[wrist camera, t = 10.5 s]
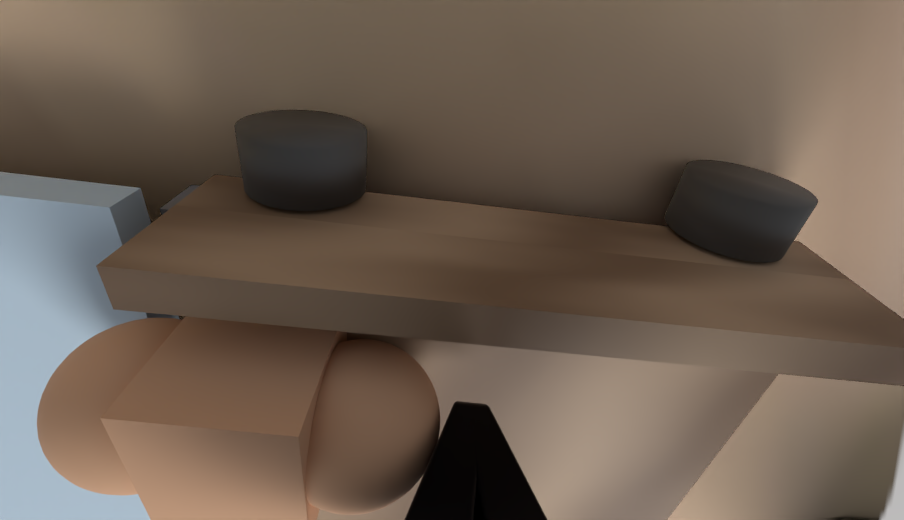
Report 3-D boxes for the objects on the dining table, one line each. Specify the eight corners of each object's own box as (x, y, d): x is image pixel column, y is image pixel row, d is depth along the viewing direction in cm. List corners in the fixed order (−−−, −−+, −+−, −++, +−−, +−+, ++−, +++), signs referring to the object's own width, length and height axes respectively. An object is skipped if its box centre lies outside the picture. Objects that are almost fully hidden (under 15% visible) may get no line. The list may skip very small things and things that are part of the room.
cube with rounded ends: (452, 314, 9) (447, 454, 6) (435, 414, 11) (426, 557, 8) (98, 274, 9) (-67, 405, 6) (141, 385, 10) (29, 524, 8)
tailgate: (109, 207, 8) (-336, 157, 7) (229, 554, 15) (7, 537, 15) (147, 184, 9) (-247, 138, 8) (242, 521, 16) (34, 505, 16)
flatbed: (801, 171, 10) (1015, 286, 6) (590, 529, 19) (624, 666, 15) (171, 93, 9) (-36, 169, 5) (263, 504, 18) (211, 643, 14)
